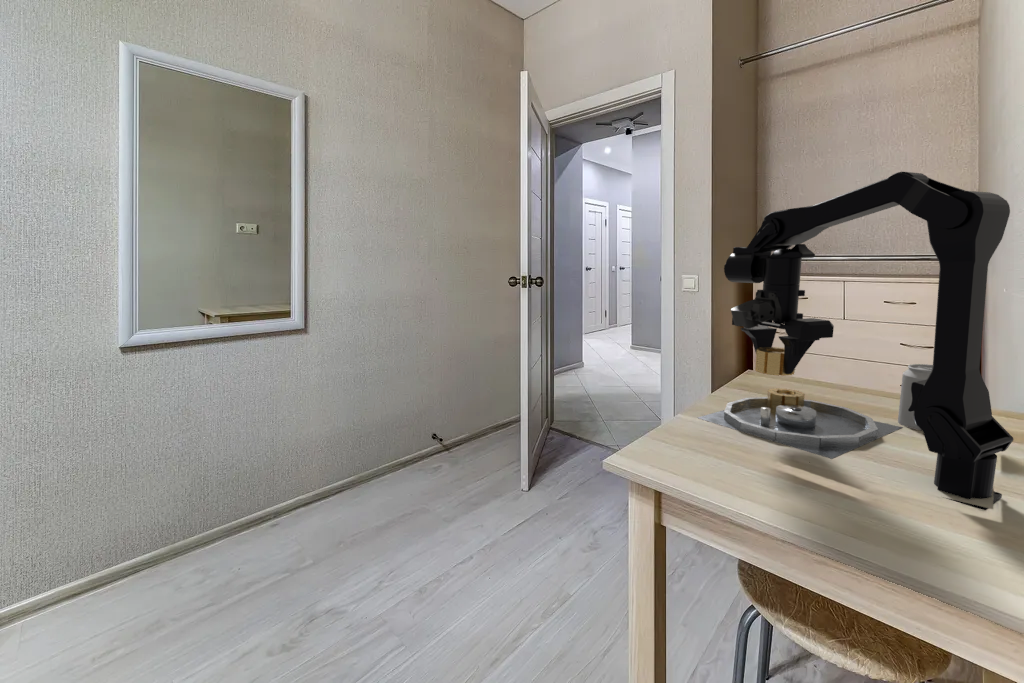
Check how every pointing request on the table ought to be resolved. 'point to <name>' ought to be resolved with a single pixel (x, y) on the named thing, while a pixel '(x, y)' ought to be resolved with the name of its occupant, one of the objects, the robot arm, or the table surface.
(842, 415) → the tray
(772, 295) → the robot arm
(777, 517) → the table surface
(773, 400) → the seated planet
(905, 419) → the can
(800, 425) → the domed metal knob cap
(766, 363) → the hollow octagonal wooden tube
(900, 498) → the table surface
